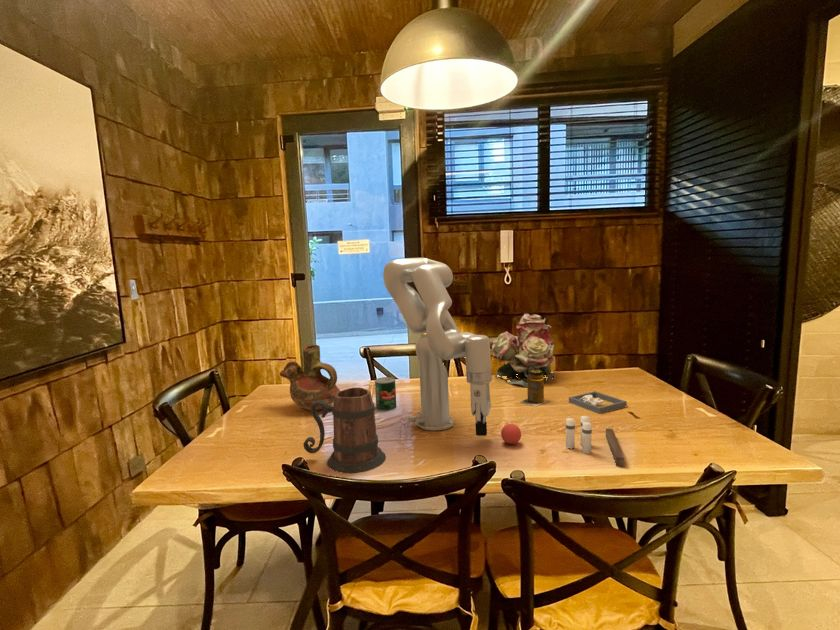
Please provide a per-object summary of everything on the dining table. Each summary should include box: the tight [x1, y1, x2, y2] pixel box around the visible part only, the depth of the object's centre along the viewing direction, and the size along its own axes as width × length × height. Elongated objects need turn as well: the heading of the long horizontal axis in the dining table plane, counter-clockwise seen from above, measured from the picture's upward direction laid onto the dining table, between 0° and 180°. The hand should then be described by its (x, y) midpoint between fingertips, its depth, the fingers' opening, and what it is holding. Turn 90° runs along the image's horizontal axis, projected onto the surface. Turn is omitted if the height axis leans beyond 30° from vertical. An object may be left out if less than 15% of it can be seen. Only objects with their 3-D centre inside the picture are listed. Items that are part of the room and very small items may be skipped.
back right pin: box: [581, 422, 593, 455], centre depth 128 cm, size 2×2×8 cm
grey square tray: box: [568, 390, 628, 415], centre depth 167 cm, size 14×15×2 cm
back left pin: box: [580, 415, 591, 446], centre depth 133 cm, size 2×2×8 cm
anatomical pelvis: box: [579, 395, 605, 407], centre depth 167 cm, size 8×4×7 cm
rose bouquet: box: [490, 313, 556, 389], centre depth 201 cm, size 26×29×30 cm
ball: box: [500, 423, 522, 445], centre depth 136 cm, size 6×6×6 cm
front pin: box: [565, 417, 576, 450], centre depth 132 cm, size 2×2×8 cm
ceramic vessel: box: [279, 344, 341, 412], centre depth 174 cm, size 17×26×25 cm, turn 76°
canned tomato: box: [374, 376, 397, 412], centre depth 172 cm, size 8×8×11 cm
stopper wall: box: [605, 428, 626, 467], centre depth 129 cm, size 2×20×2 cm, turn 165°
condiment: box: [520, 370, 549, 407], centre depth 172 cm, size 7×8×12 cm
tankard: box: [303, 386, 387, 474], centre depth 129 cm, size 24×17×20 cm
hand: (481, 434), depth 138 cm, fingers closed
